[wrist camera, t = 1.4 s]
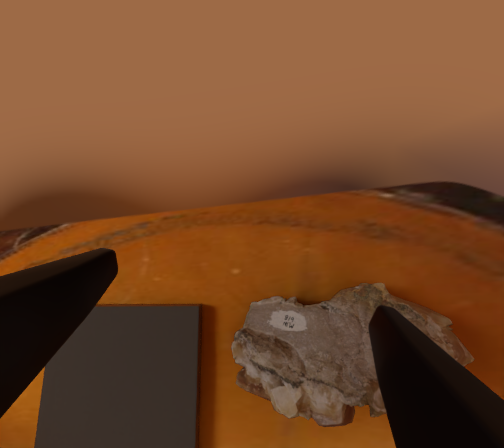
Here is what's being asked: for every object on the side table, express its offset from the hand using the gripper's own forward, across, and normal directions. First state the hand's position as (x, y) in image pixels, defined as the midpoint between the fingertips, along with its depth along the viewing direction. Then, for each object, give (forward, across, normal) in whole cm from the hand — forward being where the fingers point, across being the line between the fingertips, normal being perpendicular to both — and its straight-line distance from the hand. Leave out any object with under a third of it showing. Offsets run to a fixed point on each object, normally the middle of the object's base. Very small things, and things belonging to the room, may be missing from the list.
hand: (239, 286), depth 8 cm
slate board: (+4, +9, +20) cm, 23 cm away
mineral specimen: (+10, -8, +12) cm, 18 cm away
